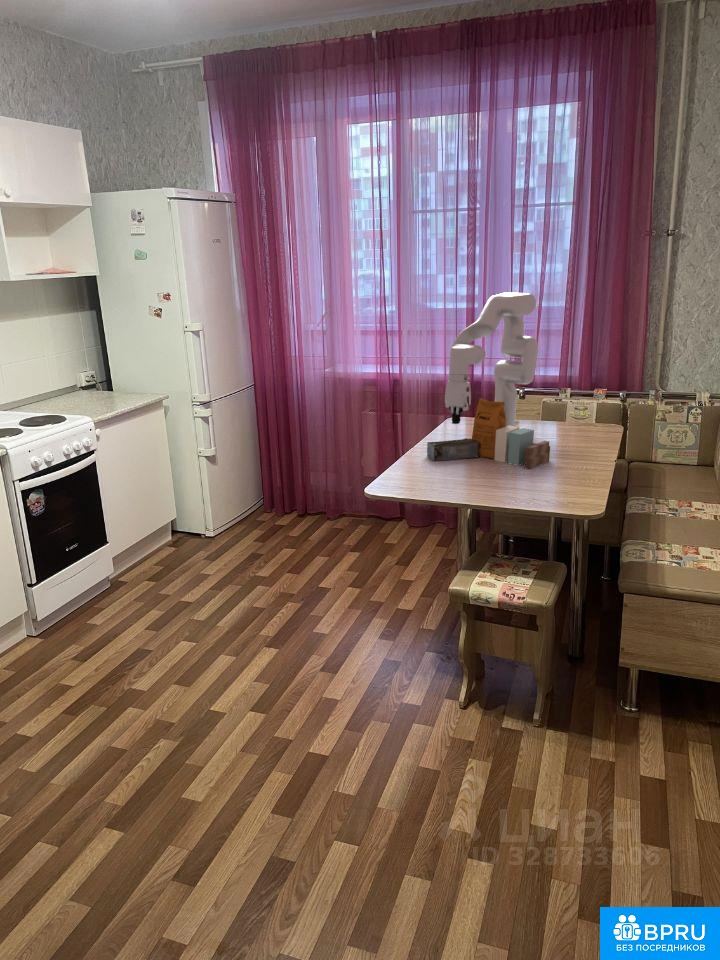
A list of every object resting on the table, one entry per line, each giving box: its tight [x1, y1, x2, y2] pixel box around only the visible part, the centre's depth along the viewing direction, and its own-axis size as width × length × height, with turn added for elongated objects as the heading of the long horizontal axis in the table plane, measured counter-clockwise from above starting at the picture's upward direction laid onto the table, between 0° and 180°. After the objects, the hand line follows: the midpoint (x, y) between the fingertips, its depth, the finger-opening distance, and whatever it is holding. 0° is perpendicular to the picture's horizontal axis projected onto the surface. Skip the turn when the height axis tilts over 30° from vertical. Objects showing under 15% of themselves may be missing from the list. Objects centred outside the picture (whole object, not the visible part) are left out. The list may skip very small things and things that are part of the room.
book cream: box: [493, 425, 520, 463], centre depth 284 cm, size 10×4×12 cm, turn 141°
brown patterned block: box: [523, 440, 551, 470], centre depth 282 cm, size 15×20×8 cm
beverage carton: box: [426, 437, 479, 462], centre depth 287 cm, size 8×19×7 cm, turn 107°
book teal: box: [507, 427, 535, 466], centre depth 280 cm, size 10×4×12 cm, turn 137°
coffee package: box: [471, 398, 506, 459], centre depth 288 cm, size 10×12×22 cm
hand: (455, 423), depth 298 cm, fingers closed
